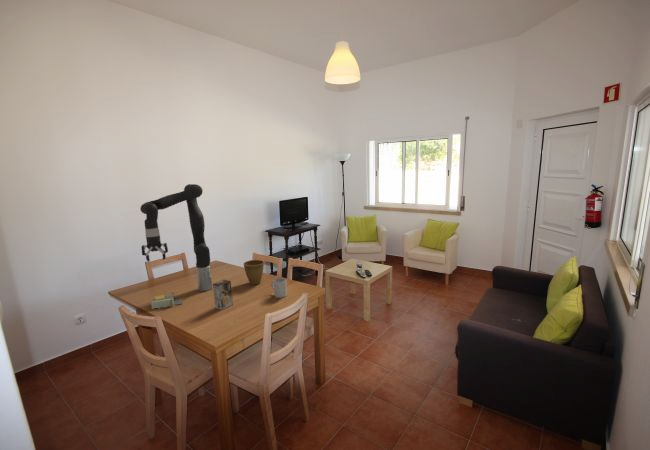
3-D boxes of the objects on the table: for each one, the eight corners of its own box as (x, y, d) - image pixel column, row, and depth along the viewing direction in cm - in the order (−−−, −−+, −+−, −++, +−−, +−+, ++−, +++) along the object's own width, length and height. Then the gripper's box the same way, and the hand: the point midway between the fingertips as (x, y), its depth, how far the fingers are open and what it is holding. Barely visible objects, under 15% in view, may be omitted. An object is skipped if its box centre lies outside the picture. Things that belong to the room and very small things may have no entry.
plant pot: (269, 281, 240) (268, 261, 236) (255, 288, 227) (253, 266, 224) (255, 278, 247) (253, 258, 244) (240, 284, 235) (239, 263, 232)
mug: (289, 294, 215) (288, 279, 213) (281, 298, 208) (280, 283, 206) (276, 290, 222) (275, 275, 220) (267, 294, 215) (267, 279, 213)
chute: (182, 298, 213) (181, 290, 212) (181, 305, 201) (180, 297, 200) (154, 302, 207) (153, 295, 206) (151, 310, 195) (150, 302, 194)
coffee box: (226, 302, 205) (224, 279, 201) (233, 304, 201) (231, 280, 198) (214, 308, 197) (212, 283, 194) (221, 310, 194) (219, 285, 190)
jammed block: (165, 301, 206) (164, 294, 205) (164, 304, 201) (163, 297, 200) (156, 303, 204) (155, 295, 203) (155, 306, 199) (154, 298, 198)
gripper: (166, 232, 200) (169, 257, 204) (141, 235, 196) (144, 260, 199) (164, 235, 193) (168, 260, 197) (138, 237, 189) (142, 263, 192)
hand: (156, 260), depth 198 cm, fingers open, 8 cm apart
